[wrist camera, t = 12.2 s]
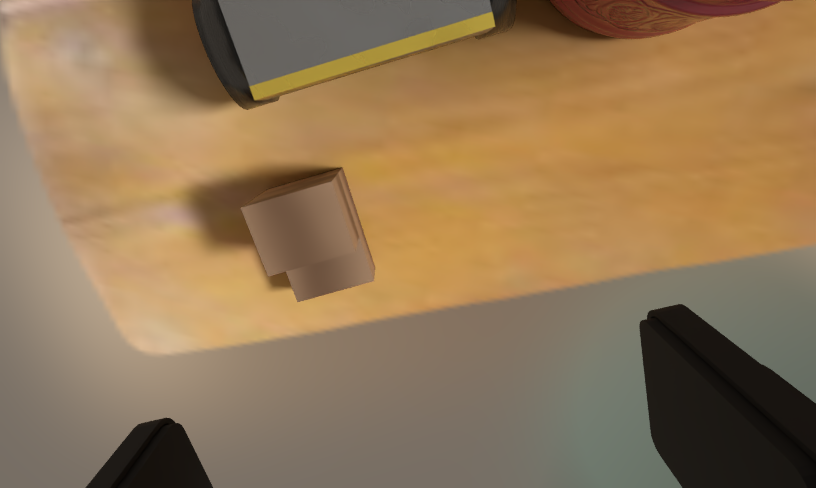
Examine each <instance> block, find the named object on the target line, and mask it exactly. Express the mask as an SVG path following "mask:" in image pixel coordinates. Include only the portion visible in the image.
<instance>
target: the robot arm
mask: <svg viewBox="0 0 816 488" xmlns="http://www.w3.org/2000/svg"><path fill="white" fill-rule="evenodd" d="M640 337H641V346H642V355H643V365H644V374H645V383H646V392H647V401H648V410H649V420H650V429H651V436H652V439H653V442H654V445H655V447H656V449H657V451H658V453H659V454H660V456H661V457H662V459H663V460H664V462H665V463H666V465H667V466H668V467H669V469H670V470H671V472H672V473H673V475H674V476H675V477H676V478H677V480H678V482H679V483H680V485H681V486H682V488H816V403H814V402H813V401H811V400H810V399H809V398H808V397H806V396H805V395H804V394H802V393H801V392H800V391H798V390H797V389H796V388H794V387H793V386H792V385H791V384H789V383H788V382H787V381H785V380H784V379H783V378H781V377H780V376H779V375H778V374H776V373H775V372H774V371H772V370H771V369H769V368H767V367H766V366H764V365H761V364H760V363H759V362H757V361H756V360H755V359H753V358H752V357H751V356H750V355H748V354H747V353H746V352H744V351H743V350H742V349H740V348H739V347H738V346H736V345H735V344H734V343H733V342H731V341H730V340H729V339H727V338H726V337H725V336H724V335H722V334H721V333H720V332H718V331H717V330H716V329H714V328H713V327H712V326H711V325H709V324H708V323H707V322H705V321H704V320H703V319H702V318H700V317H699V316H698V315H696V314H695V313H694V312H692V311H691V310H690V309H689V308H687V307H686V306H684V305H682V304H678V305H674V306H669V307H664V308H660V309H656V310H651V311H649V313H648V315H647V320H642V321H641V322H640ZM86 488H213V487H212V484H211V482H210V480H209V478H208V476H207V475H206V472H205V470H204V469H203V466H202V464H201V462H200V460H199V458H198V456H197V454H196V452H195V450H194V448H193V446H192V444H191V442H190V440H189V438H188V436H187V434H186V432H185V430H184V428H183V427H182V425H180V424H179V423H175V422H174V421H173V420H172V419H170V418H163V419H159V420H154V421H150V422H145V423H141V424H138V425H137V426H136V427H135V428H134V429H133V430H132V431H131V433H130V434H129V435H128V436H127V438H126V439H125V440H124V441H123V442H122V444H121V445H120V446H119V447H118V449H117V450H116V451H115V452H114V454H113V455H112V456H111V457H110V458H109V460H108V461H107V462H106V463H105V465H104V466H103V467H102V468H101V469H100V471H99V472H98V473H97V474H96V476H95V477H94V478H93V479H92V481H91V482H90V483H89V484H88V486H87V487H86Z"/></svg>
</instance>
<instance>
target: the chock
mask: <svg viewBox="0 0 816 488" xmlns="http://www.w3.org/2000/svg"><path fill="white" fill-rule="evenodd" d="M241 210H242V213H243V215H244V218H245V220H246V223H247V225H248V228H249V230H250V233H251V235H252V238H253V240H254V243H255V245H256V248H257V250H258V253H259V255H260V258H261V260H262V263H263V265H264V268H265V270H266V273H267V275H268V277H269V276H272V275H276V274H279V273H283V272H286V273H287V276H288V279H289V281H290V284H291V286H292V289H293V291H294V294H295V297H296V299H297V302H300V301H304V300H307V299H311V298H315V297H318V296H322V295H325V294H329V293H333V292H336V291H340V290H343V289H347V288H351V287H354V286H358V285H361V284H365V283H369V282H372V281H374V275H375V266H374V263H373V260H372V257H371V253H370V250H369V247H368V244H367V241H366V238H365V235H364V232H363V229H362V226H361V223H360V220H359V217H358V214H357V210H356V207H355V204H354V201H353V198H352V195H351V192H350V189H349V186H348V183H347V180H346V177H345V174H344V171H343V167H342V168H339V169H335V170H332V171H329V172H325V173H322V174H318V175H315V176H311V177H308V178H305V179H301V180H298V181H294V182H291V183H288V184H284V185H281V186H277V187H274V188H270V189H267V190H266V191H264V192H263V193H261V194H260V195H258V196H257V197H256V198H254V199H253V200H251V201H250V202H248V203H247V204H245V205H244V206H243V207H241Z"/></svg>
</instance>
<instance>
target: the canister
mask: <svg viewBox="0 0 816 488" xmlns="http://www.w3.org/2000/svg"><path fill="white" fill-rule="evenodd" d="M549 1H550V2H551V3H552V4H553V5H554V7H555V8H556V9H557V10H558V11H559V12H560V13H561V14H563V15H564V16H565V17H566V18H568V19H569V20H570V21H572V22H573V23H575V24H576V25H578V26H580V27H582V28H584V29H586V30H589V31H591V32H594V33H597V34H602V35H606V36H610V37H615V38H623V39H642V38H650V37H655V36H660V35H664V34H668V33H672V32H675V31H678V30H681V29H683V28H686V27H688V26H690V25H692V24H695V23H696V22H700V21H704V20H707V19H711V18H715V17H729V16H737V15H742V14H747V13H751V12H754V11H758V10H761V9H764V8H767V7H769V6H772V5H775V4H777V3H779V2H781V1H791V0H549Z"/></svg>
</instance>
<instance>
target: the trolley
mask: <svg viewBox="0 0 816 488" xmlns="http://www.w3.org/2000/svg"><path fill="white" fill-rule="evenodd" d="M192 7H193V13H194V18H195V22H196V25H197V29H198V32H199V35H200V38H201V40H202V43H203V46H204V48H205V51H206V53H207V55H208V57H209V60H210V62H211V64H212V66H213V68H214V70H215V72H216V74H217V76H218V77H219V79H220V81H221V82H222V84H223V86H224V87H225V89H226V90H227V92H228V93H229V94H230V96H231V97H232V98H233V100H234V101H235V102H236V103H237V104H238V105H239V106H241V107H242V108H244V109H246V110H249V109H252V108H255V107H258V106H262V105H265V104H268V103H272V102H275V101H278V100H279V97H280V96H282V95H285V94H288V93H291V92H295V91H298V90H301V89H305V88H308V87H311V86H314V85H318V84H321V83H324V82H327V81H331V80H334V79H337V78H341V77H344V76H347V75H350V74H354V73H357V72H360V71H363V70H367V69H370V68H373V67H377V66H380V65H383V64H386V63H390V62H393V61H396V60H399V59H403V58H406V57H409V56H412V55H416V54H419V53H422V52H426V51H429V50H432V49H435V48H439V47H442V46H445V45H448V44H452V43H455V42H458V41H462V40H465V39H468V38H471V37H475V38H476V39H481V38H485V37H488V36H491V35H494V34H498V33H501V32H504V31H507V30H510V29H511V28H512V26H513V23H514V19H515V13H516V0H192Z"/></svg>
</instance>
